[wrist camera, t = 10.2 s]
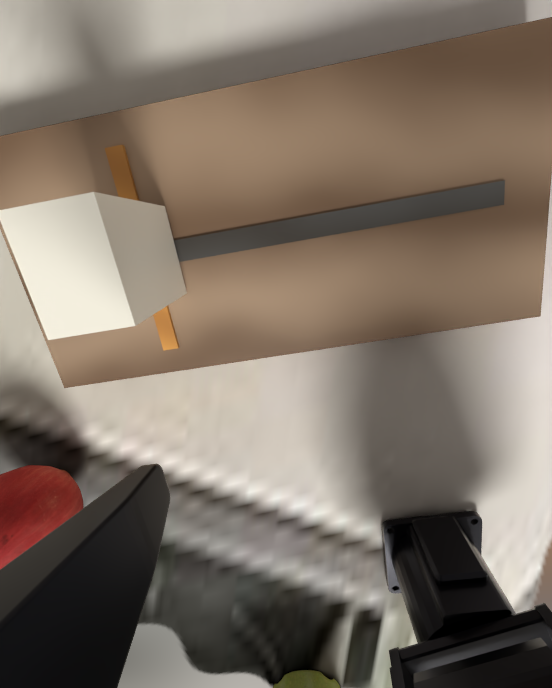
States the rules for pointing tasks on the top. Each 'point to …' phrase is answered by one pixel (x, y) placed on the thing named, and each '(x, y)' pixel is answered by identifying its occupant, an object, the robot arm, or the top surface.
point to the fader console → (320, 202)
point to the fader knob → (94, 261)
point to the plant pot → (306, 680)
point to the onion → (34, 506)
